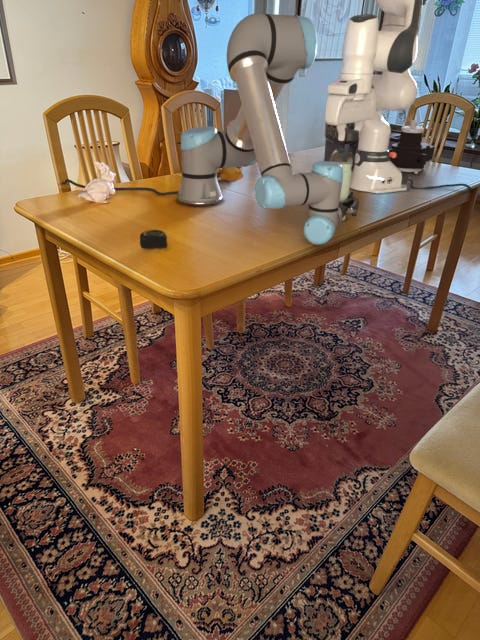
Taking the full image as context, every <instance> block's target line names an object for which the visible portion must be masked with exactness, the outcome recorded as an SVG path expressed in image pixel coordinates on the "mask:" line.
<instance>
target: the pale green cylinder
mask: <svg viewBox="0 0 480 640" xmlns="http://www.w3.org/2000/svg"><path fill="white" fill-rule="evenodd" d="M338 163H339V164H341V165H342V167H343V183H342V187H341V193H340V200H339V201H345V200H347V199H348V196H349V194H350V189H351V188H350V182H351V177H352V174H353V170H352V167H353V165H352V162H349V161H347V162H342V161H339V162H338ZM346 216H347V215H345V216H344V218H343V219H342V221H345V220H346V218H347V217H346ZM342 221H341V222H342Z"/></svg>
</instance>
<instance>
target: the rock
mask: <svg viewBox="0 0 480 640" xmlns="http://www.w3.org/2000/svg"><path fill="white" fill-rule="evenodd" d="M335 152H337V153H342V147H340V148H338V149H336V150H335ZM348 154H352V153H351V151H350V150H349V152H348Z"/></svg>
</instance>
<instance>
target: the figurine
mask: <svg viewBox="0 0 480 640" xmlns="http://www.w3.org/2000/svg"><path fill="white" fill-rule="evenodd" d="M93 164H94V166H95V167H96V168H97V169H98V170H99V174H100V176H99V177H100V178H93V179H91V180H90V181H89V182H88V183H86V185H85V186H86V187H85V188H82V192H80V193H78V195H77V197H78V198H79V199H81V200H83V199H84V200H87V202H88V201H90V202H94V203H95V204H96V203H97V204H98V203H100V204H107V203H108V201H106V199H109V198H111V196H110V195H115V194H116V191H115V190H114V188H115V187H114V186H115V185H114V181H115V177H116V175H117V174H116V173H115V172H113V171H111V170H110V167H109V165H108V164H106V163H105V162H103V161H101V162H99V161H96V160H95V161H94V162H93Z"/></svg>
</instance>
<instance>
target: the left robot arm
mask: <svg viewBox="0 0 480 640" xmlns="http://www.w3.org/2000/svg"><path fill="white" fill-rule="evenodd" d="M317 35H318V34H317V31H316V27H315V24H314V22H313V21H312V20H311V19H310V18H309V17H307V16H302V15H298V14H293V15H289V14H275V13H263V12H254V13H250V14H249V15H246V16H244V17H243V18H242V19H241V20H240V21H239V22H238V23H237V24H236V25H235V27H234V28H233V30H232V32H231V34H230V36H229V39H228V43H227V47H226V66H227V70H228V71H227V72H228V75H229V77H230V80H231V81H232V82H234V83H235V84H236V89H237V91H238V94H239V98H240V102H241V106H240V108H239V110H238V113H237V115H236V117H235V119H233V120H231V121H230V122H229V123H228V124H227V126H226V129H225V130H217V128H216V126H208V125H207V126H198V127H197V126H196V127H192V128H189V129H186V130H184V131H183V132H182V133H181V135H180V144H179V145H180V158H181V181H180V184H179V188H178V190H175V191H166V192H160V191H158V190H157V189H154V188H152V187H142V186H141V187H140V186H139V187H136V186H135V187H113V188H114V190H115V192H116V191H117V192H118V191H119V192H120V191H148V192H153V193H155V194H156V195H157V196H162V197H163V196H170V195H177V202H178V203H179V204H181V205H184V206H187V207H199V208H200V207H202V208H203V207H212V206H217V205H219V204H221V203H222V202H223V195H222V190H221V187H220V184H219V182H218V181H219V180H218V177H217V172H218V170H217V169H221V168H228V167H242V168H246V167H249V166H253V165H256V164H257V166H258V168H259V173H260V177H259V178H258V179H257V180H256V182H255V186H254V192H255V195H254V196H255V200H256V202H257V205H259V207H260V208H262V209H265V210H275V209H276V210H280V209H283V208H291V207H298V206H307V205H308V210H307V211H308V212H307V219H306V221H305V222H304V226H303V235H304V237H305V239H306V240H307V241H308V242H309V243H311V244H312V245H317V246H321V245H324V244H326V243H328V242H329V241H330V240H331V239H333V237H334V235H335V233H336V231H337V229H338V228H339V226H340V225H341V223H342V219H343V218H344V216H345V215H346V216H347V215H348V214H349V215H351V216H352V217H357V213H358V209H359V204H360V198H356V196H354V191H350V192H349V196H348V199H347V200H345V201H339V200H340V193H341V187H342V183H343V167H342V165H341V164H339V162H335V161H331V160H330V161H324V160H321V161H320V160H319V161H316V162H314V163H313V164H312V168H311V171H310V172H298V173H294V170H293V166H292V163H291V160H290V157H289V153H288V149H287V146H286V141H285V138H284V134H283V131H282V128H281V127H282V126H281V123H280V120H279V116H278V113H277V109H276V101H277V100H278V98H279V96H280V94H281V92H282V91H283V89H284V86H285V85H288V84H289V83H290V84H291V83H292V81H293V80H294V79H295V78H296V76H297V73H298V72H299V70H302V71H303V70H304V71H305V70H307V69H309V68H311V67H312V65H313V64H314V63H315V59H316V56H317V51H318V50H317V49H318V36H317ZM64 180H65V182H64ZM64 180H63V182H61V183H62V185H66V183H70V184H71V185H73V186H75V187H78V188H81V189H84V188H85V187H86V185H84V184H80V183H77V182H75V181H73V180H72V179H69V178H68V179H64Z"/></svg>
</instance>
